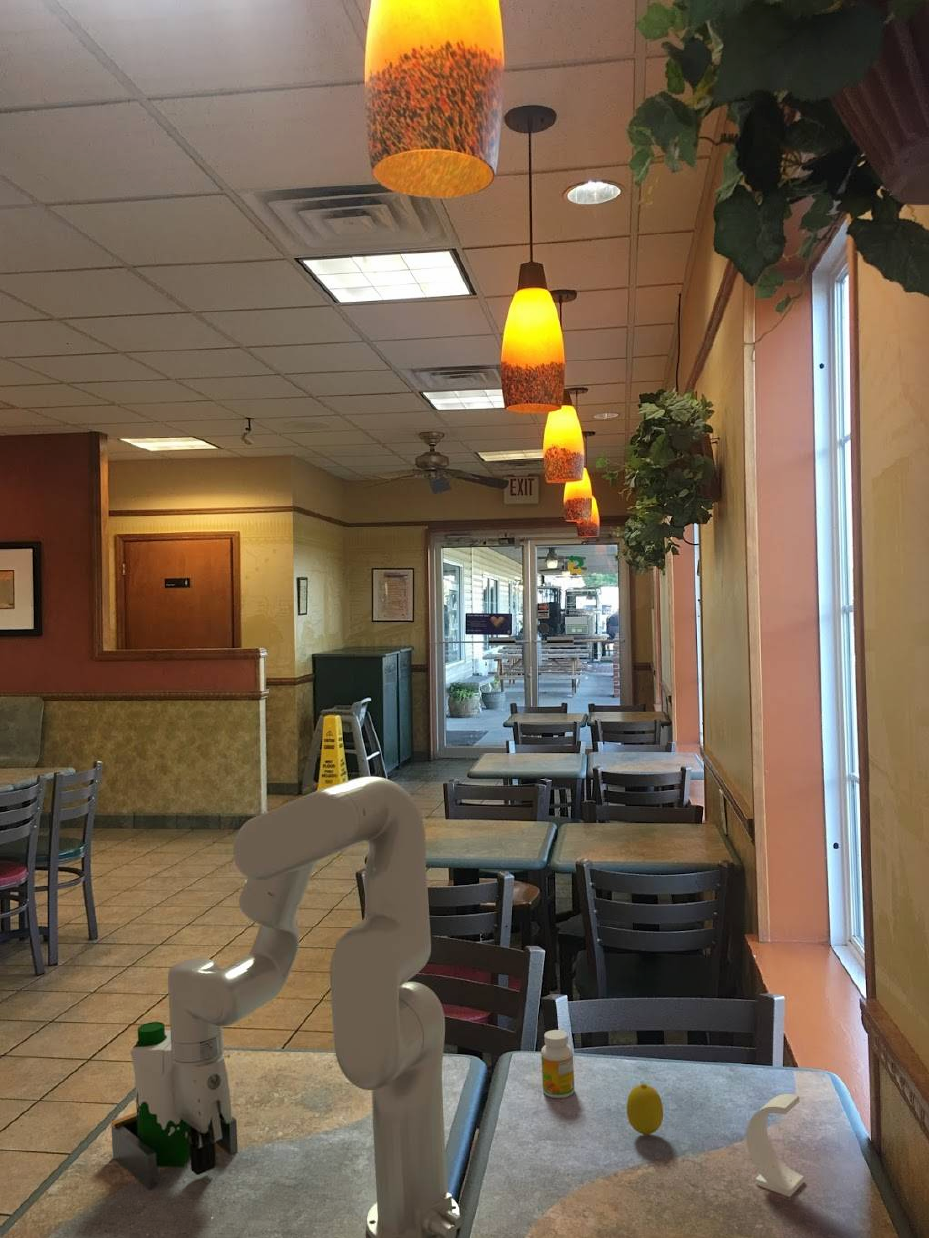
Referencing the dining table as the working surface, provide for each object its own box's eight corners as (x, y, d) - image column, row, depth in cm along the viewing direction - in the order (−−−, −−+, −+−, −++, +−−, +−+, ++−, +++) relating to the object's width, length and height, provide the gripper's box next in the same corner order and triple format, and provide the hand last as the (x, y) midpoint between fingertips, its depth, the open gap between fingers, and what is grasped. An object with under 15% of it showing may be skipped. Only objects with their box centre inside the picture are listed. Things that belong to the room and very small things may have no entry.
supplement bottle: (537, 1089, 170) (534, 1032, 170) (564, 1081, 172) (561, 1025, 172) (553, 1101, 165) (550, 1043, 165) (580, 1094, 167) (577, 1036, 167)
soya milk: (153, 1140, 159) (148, 1016, 159) (208, 1140, 158) (202, 1015, 158) (130, 1170, 150) (124, 1038, 150) (188, 1170, 149) (181, 1037, 150)
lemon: (623, 1141, 151) (620, 1088, 151) (634, 1124, 156) (631, 1073, 156) (658, 1148, 149) (655, 1094, 149) (668, 1131, 154) (666, 1079, 154)
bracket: (237, 1151, 154) (236, 1115, 154) (149, 1190, 144) (147, 1151, 145) (197, 1123, 164) (196, 1089, 164) (112, 1157, 154) (111, 1121, 154)
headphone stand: (789, 1197, 134) (784, 1108, 135) (748, 1182, 139) (743, 1096, 139) (804, 1181, 138) (799, 1095, 138) (763, 1167, 142) (758, 1083, 142)
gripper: (244, 1051, 145) (251, 1177, 144) (197, 1025, 156) (203, 1142, 155) (197, 1068, 140) (203, 1199, 139) (151, 1040, 151) (158, 1161, 150)
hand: (203, 1169), depth 147 cm, fingers closed
